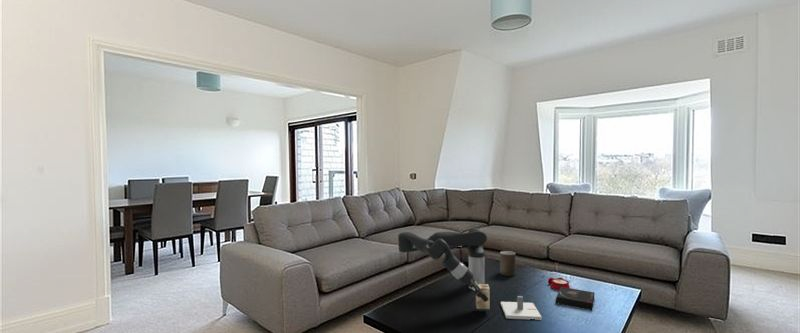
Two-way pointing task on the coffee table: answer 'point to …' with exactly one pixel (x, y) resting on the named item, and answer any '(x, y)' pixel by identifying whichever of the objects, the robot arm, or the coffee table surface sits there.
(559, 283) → the alarm clock
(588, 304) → the portable cd player
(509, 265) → the pillar candle
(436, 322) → the coffee table surface
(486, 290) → the beige wooden tall block
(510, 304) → the plate
